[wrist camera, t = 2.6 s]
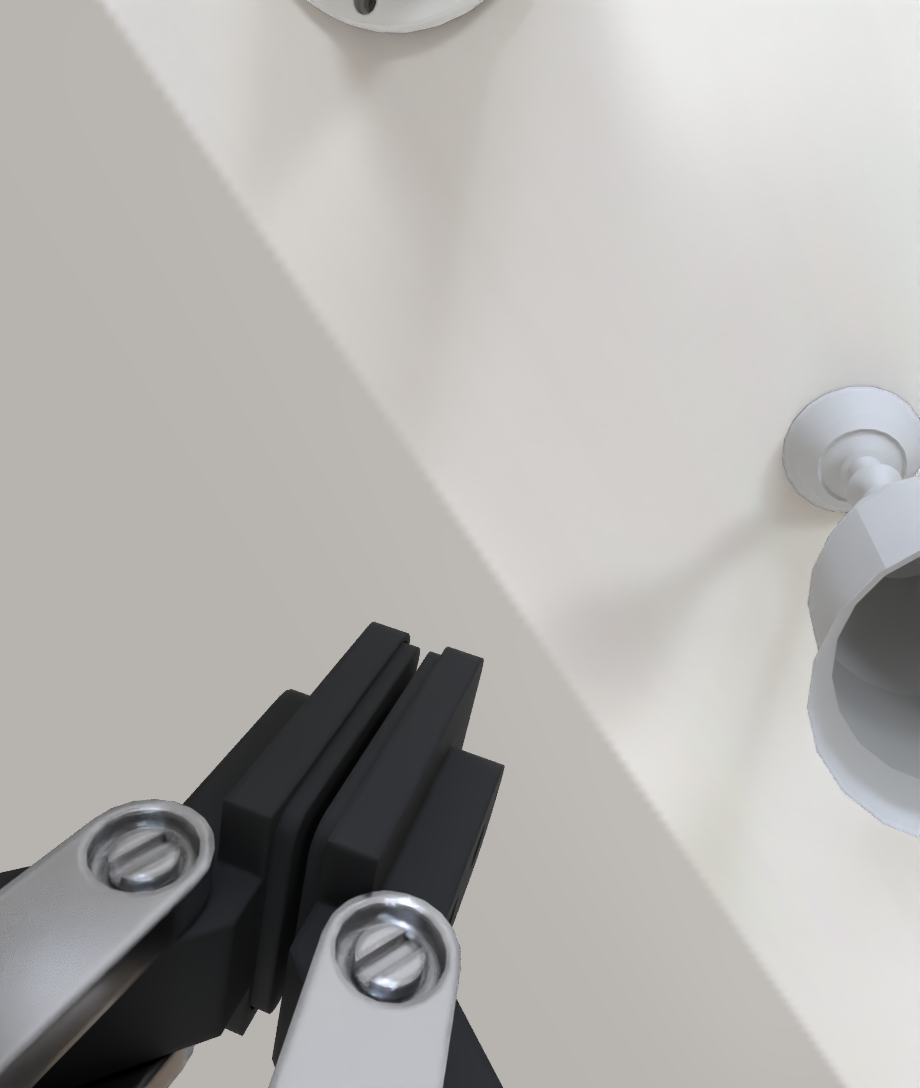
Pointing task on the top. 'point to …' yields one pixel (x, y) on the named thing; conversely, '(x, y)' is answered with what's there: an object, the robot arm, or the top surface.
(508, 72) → the top surface
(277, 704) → the robot arm
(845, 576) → the chalice
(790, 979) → the top surface
